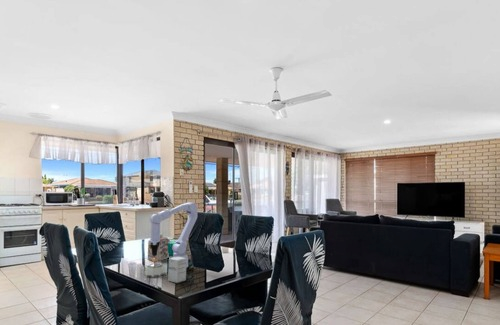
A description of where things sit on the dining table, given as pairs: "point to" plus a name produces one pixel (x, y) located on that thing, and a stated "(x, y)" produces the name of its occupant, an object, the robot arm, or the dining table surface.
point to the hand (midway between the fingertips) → (154, 254)
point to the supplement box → (177, 269)
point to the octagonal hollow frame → (154, 271)
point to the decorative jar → (160, 249)
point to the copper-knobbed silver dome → (154, 263)
